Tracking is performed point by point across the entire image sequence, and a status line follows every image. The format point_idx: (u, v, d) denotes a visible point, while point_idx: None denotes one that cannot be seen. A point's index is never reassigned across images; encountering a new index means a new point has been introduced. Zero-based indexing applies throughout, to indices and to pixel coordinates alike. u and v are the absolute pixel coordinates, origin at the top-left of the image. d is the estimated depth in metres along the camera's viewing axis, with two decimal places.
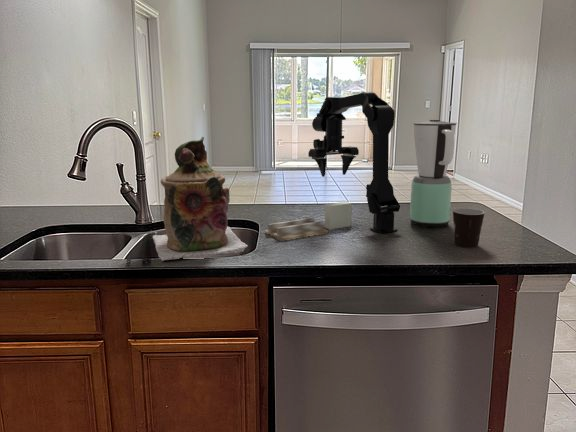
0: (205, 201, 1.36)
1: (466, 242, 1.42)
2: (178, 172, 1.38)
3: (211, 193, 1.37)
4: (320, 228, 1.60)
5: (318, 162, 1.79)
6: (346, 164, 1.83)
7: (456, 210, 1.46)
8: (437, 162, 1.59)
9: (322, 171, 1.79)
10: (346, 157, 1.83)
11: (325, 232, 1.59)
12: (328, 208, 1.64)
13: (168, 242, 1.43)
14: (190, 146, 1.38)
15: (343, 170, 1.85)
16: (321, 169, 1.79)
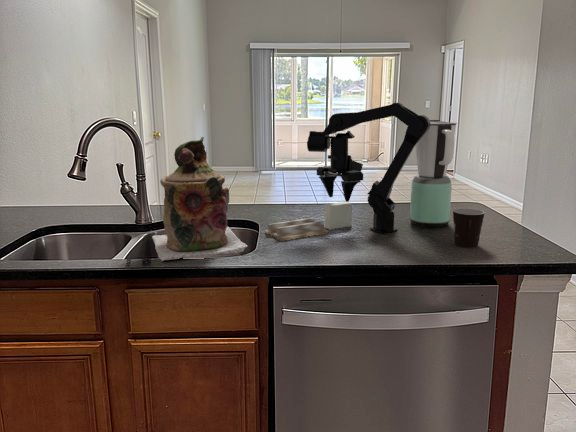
0: (205, 201, 1.36)
1: (466, 242, 1.42)
2: (178, 172, 1.38)
3: (211, 193, 1.37)
4: (320, 228, 1.60)
5: None
6: None
7: (456, 210, 1.46)
8: (437, 162, 1.59)
9: None
10: None
11: (325, 232, 1.59)
12: (328, 208, 1.64)
13: (168, 242, 1.43)
14: (190, 146, 1.37)
15: None
16: None
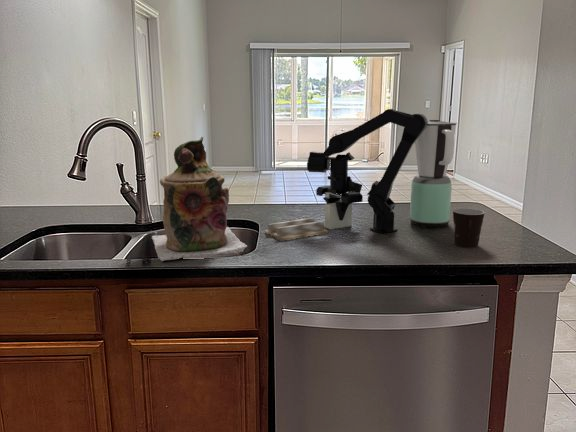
0: (204, 201, 1.36)
1: (466, 242, 1.42)
2: (177, 172, 1.38)
3: (211, 193, 1.36)
4: (320, 228, 1.60)
5: None
6: None
7: (456, 210, 1.46)
8: (437, 162, 1.59)
9: None
10: None
11: (325, 232, 1.59)
12: (328, 208, 1.64)
13: (167, 242, 1.43)
14: (189, 146, 1.37)
15: None
16: None
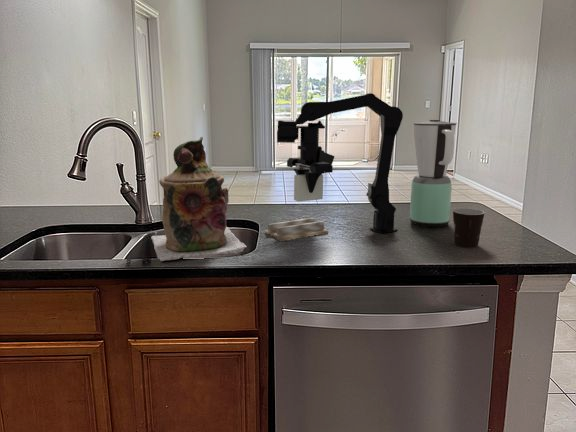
0: (204, 201, 1.36)
1: (466, 242, 1.42)
2: (177, 172, 1.38)
3: (210, 193, 1.36)
4: (320, 228, 1.60)
5: None
6: None
7: (456, 210, 1.46)
8: (437, 162, 1.59)
9: None
10: None
11: (325, 232, 1.59)
12: (297, 179, 1.56)
13: (167, 242, 1.42)
14: (189, 146, 1.37)
15: None
16: None
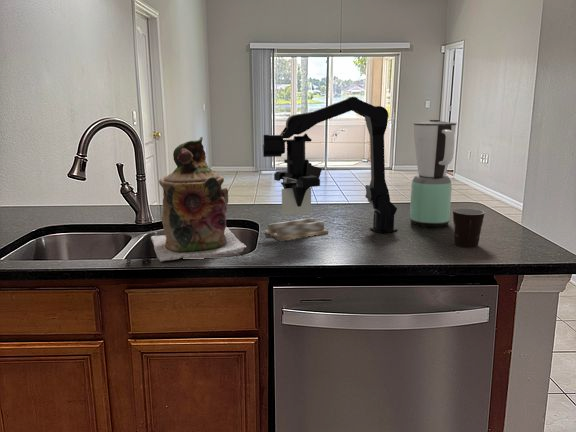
0: (204, 201, 1.36)
1: (466, 242, 1.42)
2: (177, 172, 1.38)
3: (210, 193, 1.36)
4: (320, 228, 1.60)
5: None
6: None
7: (456, 210, 1.46)
8: (437, 162, 1.59)
9: None
10: None
11: (325, 232, 1.59)
12: (285, 193, 1.54)
13: (167, 243, 1.42)
14: (189, 146, 1.37)
15: None
16: None
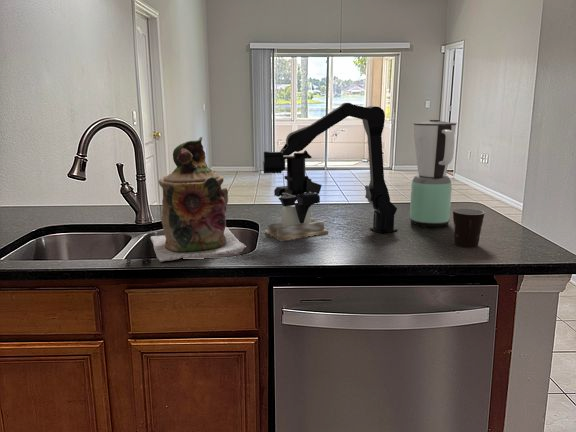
0: (203, 201, 1.35)
1: (466, 242, 1.42)
2: (176, 172, 1.37)
3: (210, 193, 1.36)
4: (320, 228, 1.60)
5: None
6: None
7: (456, 210, 1.46)
8: (437, 162, 1.59)
9: None
10: None
11: (325, 232, 1.59)
12: (285, 211, 1.55)
13: (166, 243, 1.42)
14: (188, 146, 1.37)
15: None
16: None
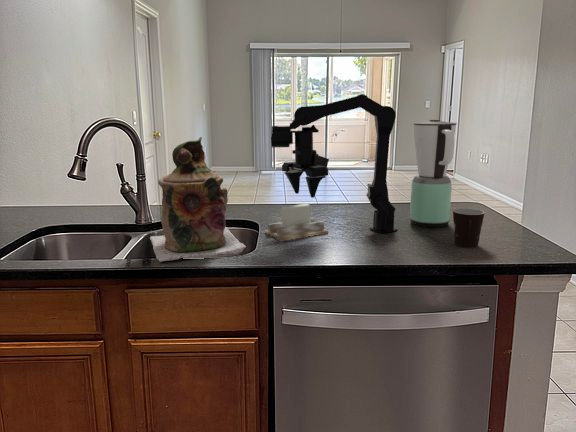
0: (203, 201, 1.35)
1: (466, 242, 1.42)
2: (176, 172, 1.37)
3: (209, 193, 1.36)
4: (320, 228, 1.60)
5: None
6: None
7: (456, 210, 1.46)
8: (437, 162, 1.59)
9: None
10: None
11: (325, 232, 1.59)
12: (285, 211, 1.55)
13: (166, 243, 1.42)
14: (188, 146, 1.37)
15: None
16: None
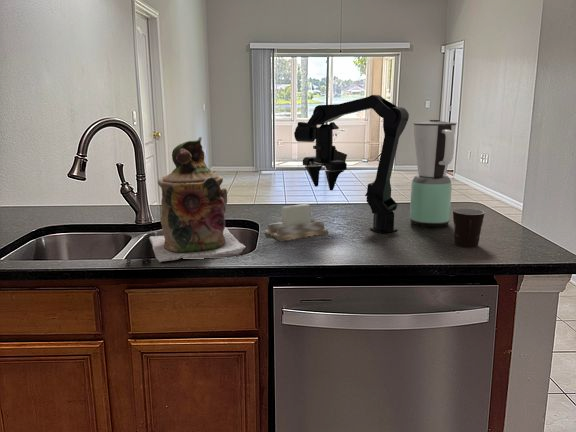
0: (203, 201, 1.35)
1: (466, 242, 1.42)
2: (175, 173, 1.37)
3: (209, 193, 1.36)
4: (320, 228, 1.60)
5: None
6: None
7: (456, 210, 1.46)
8: (437, 162, 1.59)
9: None
10: None
11: (325, 232, 1.59)
12: (285, 211, 1.55)
13: (165, 243, 1.42)
14: (187, 146, 1.37)
15: None
16: None
